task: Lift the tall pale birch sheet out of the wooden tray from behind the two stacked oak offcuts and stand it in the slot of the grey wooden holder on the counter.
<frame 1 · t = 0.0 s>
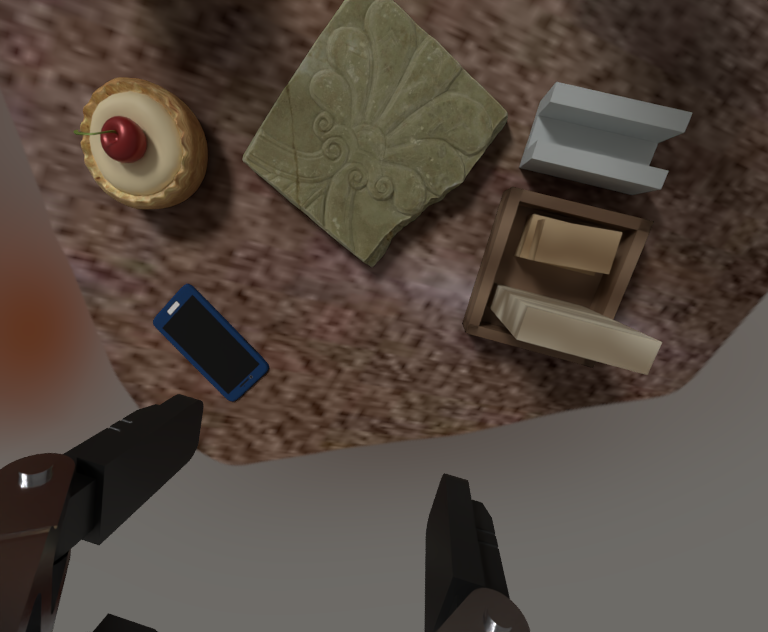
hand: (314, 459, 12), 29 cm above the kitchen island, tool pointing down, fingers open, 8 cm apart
pastry: (168, 155, 40), on the kitchen island
slot stand: (586, 148, 35), on the kitchen island
oak offcut upper: (567, 246, 34), point 3 cm above the kitchen island, touching oak offcut lower
wooden tray: (541, 276, 38), on the kitchen island
birch sheet: (534, 305, 37), point 1 cm above the kitchen island, touching wooden tray
decorative tile: (375, 145, 38), on the kitchen island
cell phone: (214, 342, 44), on the kitchen island
oak offcut lower: (556, 244, 36), point 1 cm above the kitchen island, touching oak offcut upper, wooden tray
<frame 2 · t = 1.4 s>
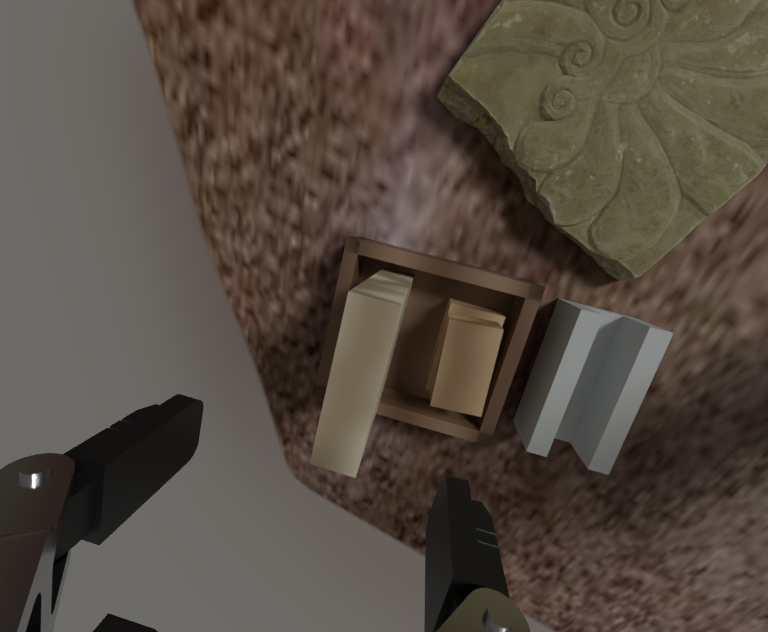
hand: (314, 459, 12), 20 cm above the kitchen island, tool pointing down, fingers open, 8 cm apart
slot stand: (571, 372, 30), on the kitchen island
oak offcut upper: (462, 358, 27), point 3 cm above the kitchen island, touching oak offcut lower
wooden tray: (421, 331, 30), on the kitchen island
birch sheet: (385, 324, 30), point 1 cm above the kitchen island, touching wooden tray
decorative tile: (612, 97, 26), on the kitchen island
oak offcut lower: (461, 345, 29), point 1 cm above the kitchen island, touching oak offcut upper, wooden tray
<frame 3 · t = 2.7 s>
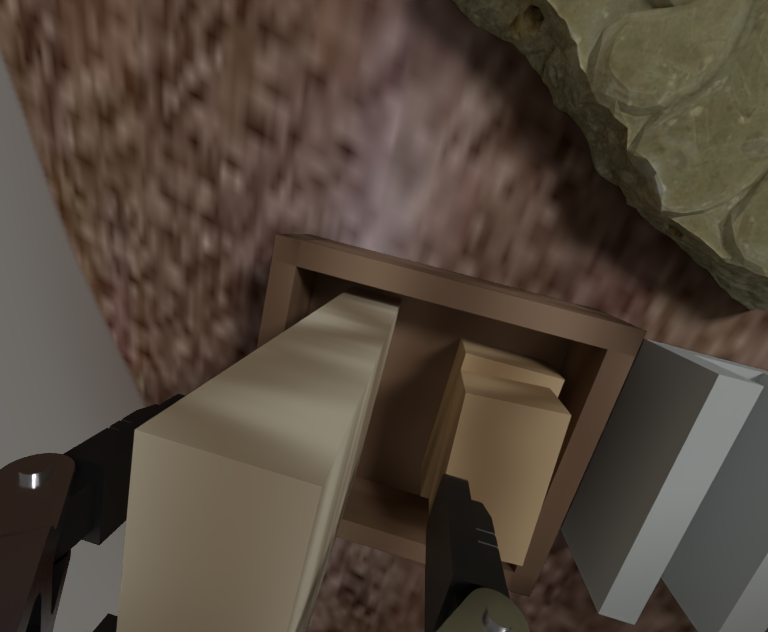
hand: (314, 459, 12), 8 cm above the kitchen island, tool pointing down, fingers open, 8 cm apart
slot stand: (660, 457, 18), on the kitchen island
oak offcut upper: (485, 447, 15), point 3 cm above the kitchen island, touching oak offcut lower
wooden tray: (415, 388, 19), on the kitchen island
birch sheet: (355, 380, 18), point 1 cm above the kitchen island, touching wooden tray
oak offcut lower: (480, 415, 18), point 1 cm above the kitchen island, touching oak offcut upper, wooden tray
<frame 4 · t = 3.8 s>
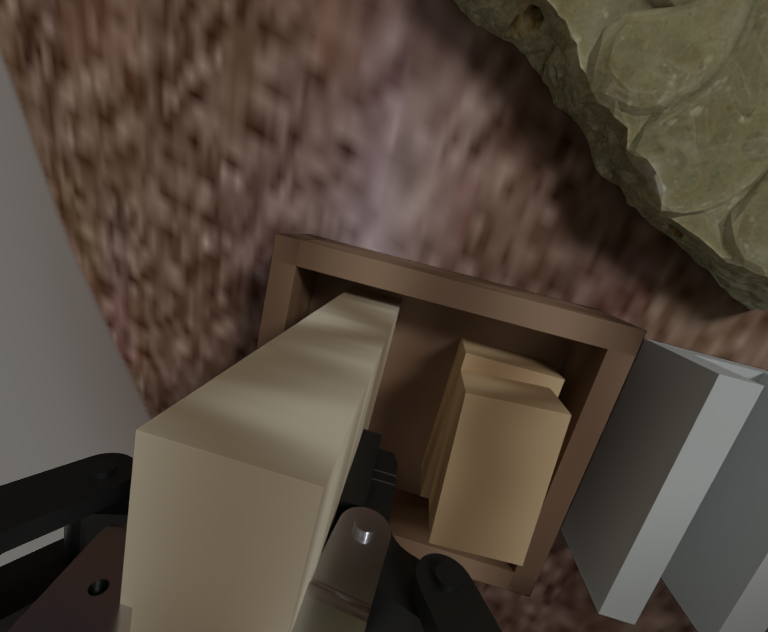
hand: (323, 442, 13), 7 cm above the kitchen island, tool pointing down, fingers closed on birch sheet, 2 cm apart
slot stand: (660, 457, 18), on the kitchen island
oak offcut upper: (485, 447, 15), point 3 cm above the kitchen island, touching oak offcut lower
wooden tray: (415, 388, 19), on the kitchen island
birch sheet: (356, 380, 18), point 1 cm above the kitchen island, touching gripper
oak offcut lower: (480, 415, 18), point 1 cm above the kitchen island, touching oak offcut upper, wooden tray
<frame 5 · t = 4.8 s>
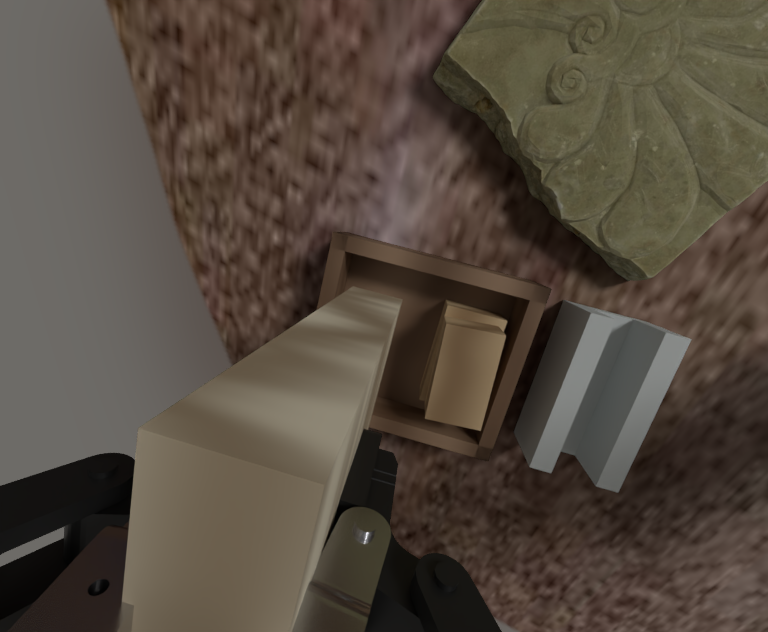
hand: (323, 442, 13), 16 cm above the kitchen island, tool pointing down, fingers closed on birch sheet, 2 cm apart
slot stand: (576, 379, 27), on the kitchen island
oak offcut upper: (460, 365, 25), point 3 cm above the kitchen island, touching oak offcut lower
wooden tray: (415, 335, 28), on the kitchen island
birch sheet: (356, 379, 18), point 10 cm above the kitchen island, touching gripper
decorative tile: (624, 81, 24), on the kitchen island
oak offcut lower: (458, 351, 27), point 1 cm above the kitchen island, touching oak offcut upper, wooden tray
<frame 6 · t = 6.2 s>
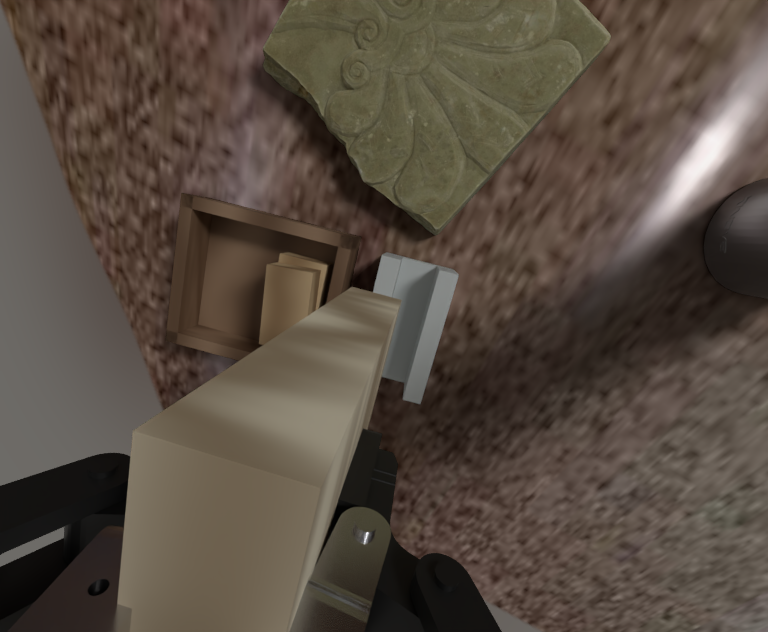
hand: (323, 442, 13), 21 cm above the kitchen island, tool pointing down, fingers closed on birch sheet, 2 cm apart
slot stand: (404, 319, 33), on the kitchen island
oak offcut upper: (294, 304, 30), point 3 cm above the kitchen island, touching oak offcut lower
wooden tray: (273, 285, 34), on the kitchen island
birch sheet: (355, 380, 18), point 16 cm above the kitchen island, touching gripper
decorative tile: (419, 72, 29), on the kitchen island
oak offcut lower: (304, 296, 33), point 1 cm above the kitchen island, touching oak offcut upper, wooden tray
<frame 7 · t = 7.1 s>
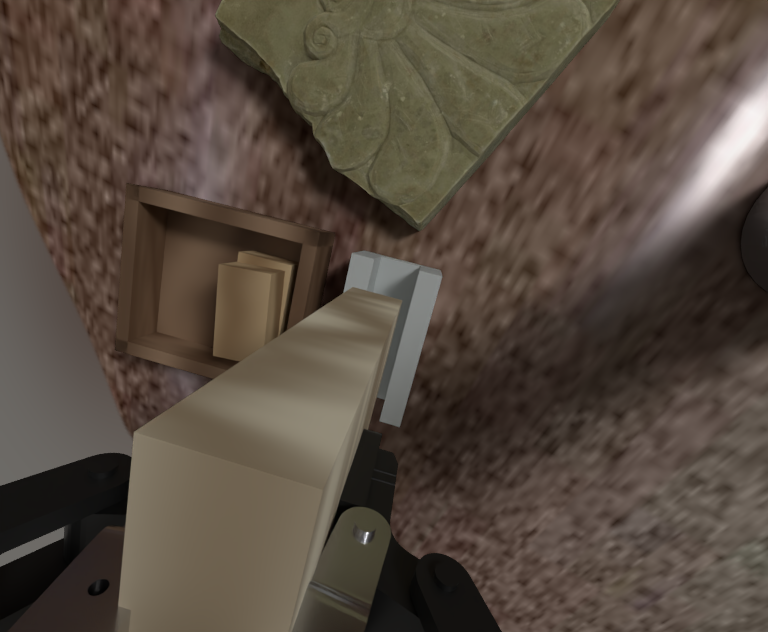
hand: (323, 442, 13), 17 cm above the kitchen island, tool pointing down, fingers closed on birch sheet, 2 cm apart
slot stand: (385, 327, 29), on the kitchen island
oak offcut upper: (256, 309, 27), point 3 cm above the kitchen island, touching oak offcut lower
wooden tray: (238, 288, 30), on the kitchen island
birch sheet: (355, 380, 18), point 11 cm above the kitchen island, touching gripper
decorative tile: (399, 41, 25), on the kitchen island
oak offcut lower: (271, 300, 29), point 1 cm above the kitchen island, touching oak offcut upper, wooden tray
when the fingers open (8 cm above the kitchen island, at t = 9.2 s): birch sheet drops 1 cm, resting on slot stand.
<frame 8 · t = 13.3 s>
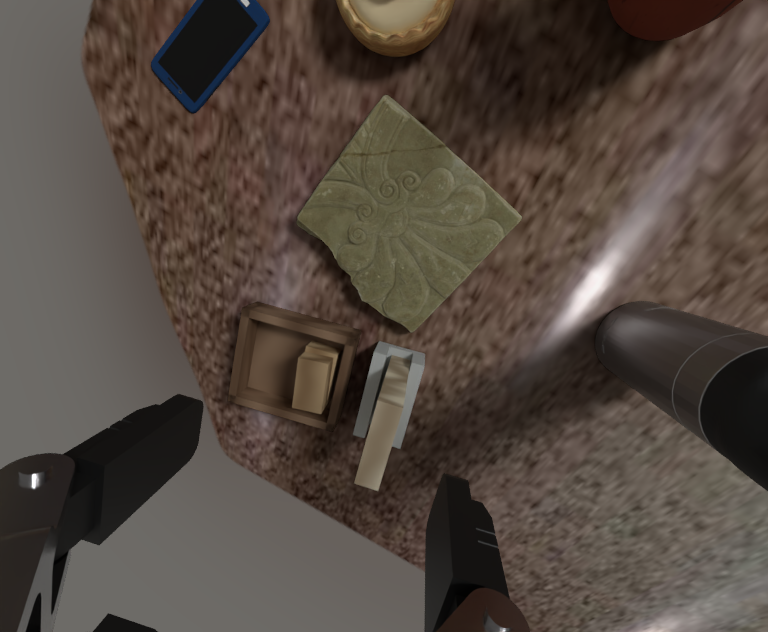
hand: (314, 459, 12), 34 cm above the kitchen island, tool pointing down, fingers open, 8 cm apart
pastry: (398, 4, 38), on the kitchen island
slot stand: (391, 386, 47), on the kitchen island
oak offcut upper: (315, 378, 45), point 3 cm above the kitchen island, touching oak offcut lower
wooden tray: (299, 360, 48), on the kitchen island
birch sheet: (391, 389, 46), point 1 cm above the kitchen island, touching slot stand
decorative tile: (400, 224, 44), on the kitchen island
cell phone: (212, 46, 42), on the kitchen island
oak offcut lower: (321, 369, 47), point 1 cm above the kitchen island, touching oak offcut upper, wooden tray
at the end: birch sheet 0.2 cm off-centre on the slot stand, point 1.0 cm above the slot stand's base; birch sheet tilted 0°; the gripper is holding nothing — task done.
